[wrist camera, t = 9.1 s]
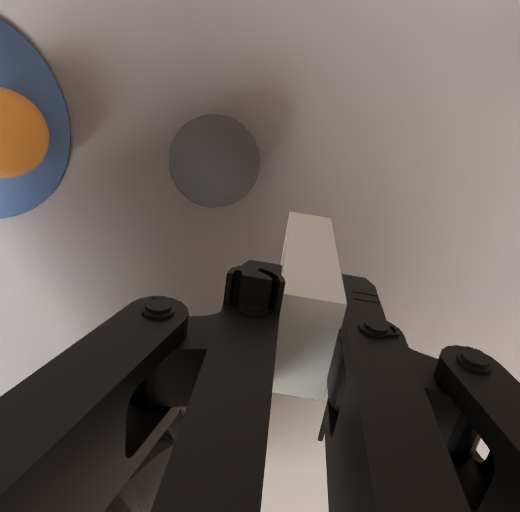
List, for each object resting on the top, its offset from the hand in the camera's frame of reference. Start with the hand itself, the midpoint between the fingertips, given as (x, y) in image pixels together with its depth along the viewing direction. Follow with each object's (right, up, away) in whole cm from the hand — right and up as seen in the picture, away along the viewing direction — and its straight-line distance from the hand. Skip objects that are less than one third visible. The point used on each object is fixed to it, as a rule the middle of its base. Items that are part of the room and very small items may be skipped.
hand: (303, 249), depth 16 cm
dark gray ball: (-4, +6, +11) cm, 13 cm away
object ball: (-18, +7, +11) cm, 22 cm away
